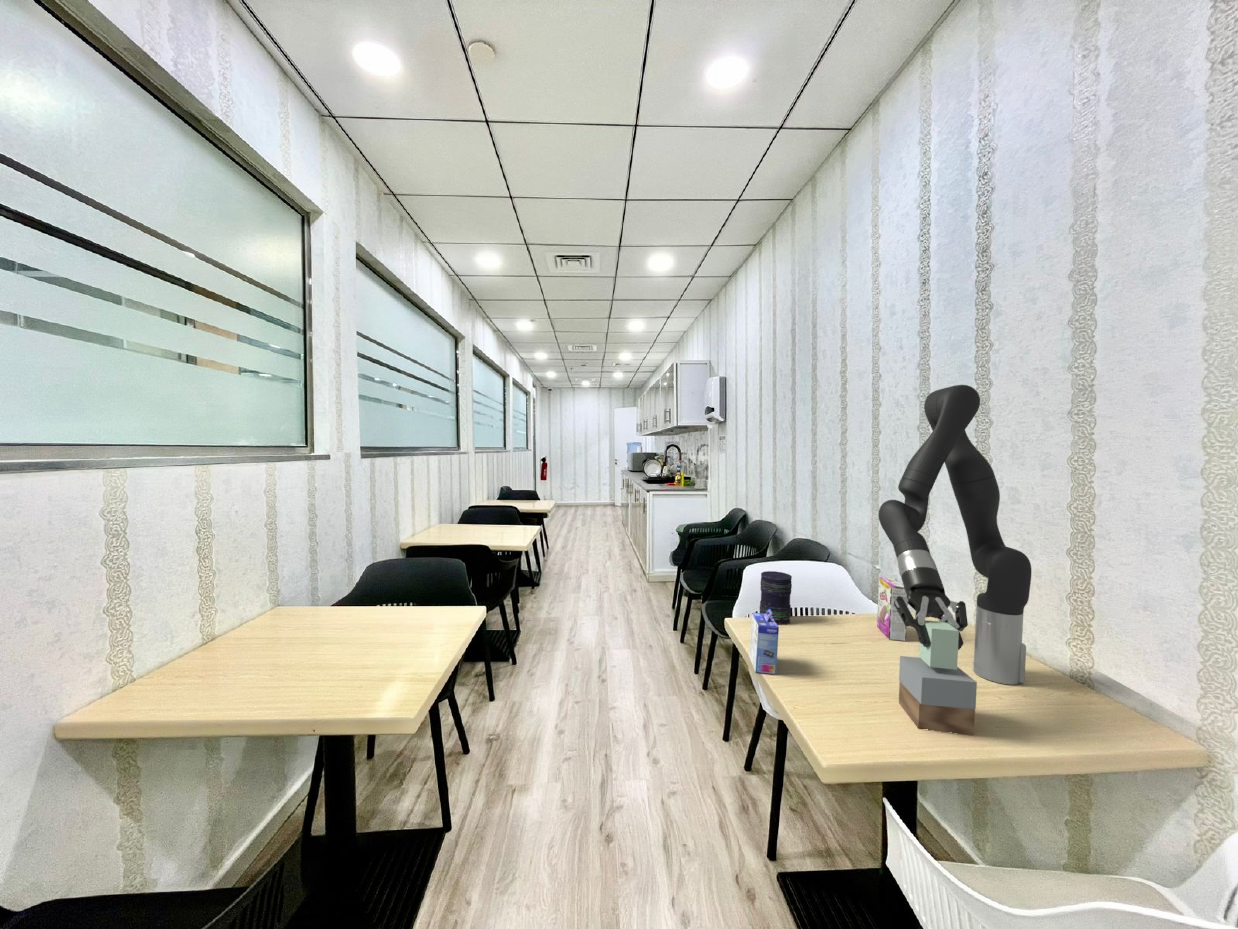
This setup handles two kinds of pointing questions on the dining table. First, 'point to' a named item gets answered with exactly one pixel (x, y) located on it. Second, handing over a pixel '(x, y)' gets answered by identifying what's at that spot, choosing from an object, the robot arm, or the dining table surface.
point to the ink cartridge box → (764, 643)
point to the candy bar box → (890, 609)
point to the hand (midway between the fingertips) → (942, 646)
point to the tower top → (937, 684)
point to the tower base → (937, 715)
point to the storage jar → (776, 595)
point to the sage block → (940, 645)
